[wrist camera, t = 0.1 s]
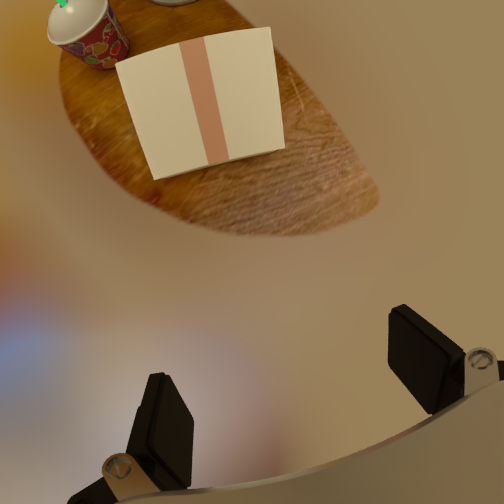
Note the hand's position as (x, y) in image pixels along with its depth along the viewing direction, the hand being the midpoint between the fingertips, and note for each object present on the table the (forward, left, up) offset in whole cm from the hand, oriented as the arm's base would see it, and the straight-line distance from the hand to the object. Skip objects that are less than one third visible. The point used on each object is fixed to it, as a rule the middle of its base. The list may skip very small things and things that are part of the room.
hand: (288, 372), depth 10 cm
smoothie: (-33, -13, -31) cm, 47 cm away
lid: (-16, -1, -21) cm, 26 cm away
